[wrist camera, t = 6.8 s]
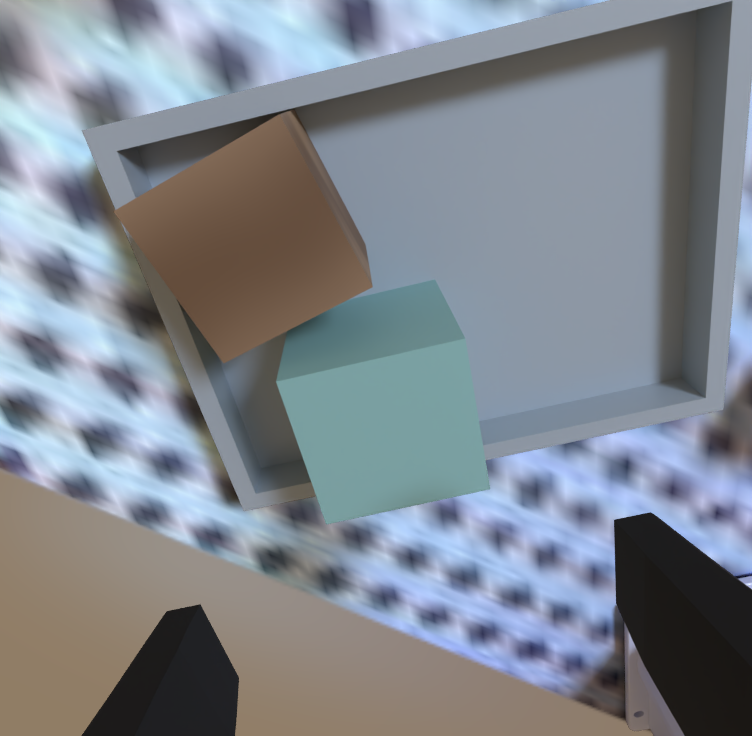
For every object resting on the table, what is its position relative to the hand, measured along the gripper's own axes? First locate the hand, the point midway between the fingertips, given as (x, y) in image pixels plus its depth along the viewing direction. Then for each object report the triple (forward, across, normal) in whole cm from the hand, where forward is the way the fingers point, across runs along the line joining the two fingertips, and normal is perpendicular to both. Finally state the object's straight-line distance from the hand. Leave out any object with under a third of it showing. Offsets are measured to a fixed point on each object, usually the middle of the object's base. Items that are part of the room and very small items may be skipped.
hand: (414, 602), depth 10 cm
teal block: (+9, 0, 0) cm, 9 cm away
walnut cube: (+9, +2, -5) cm, 11 cm away
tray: (+10, -2, -2) cm, 11 cm away
